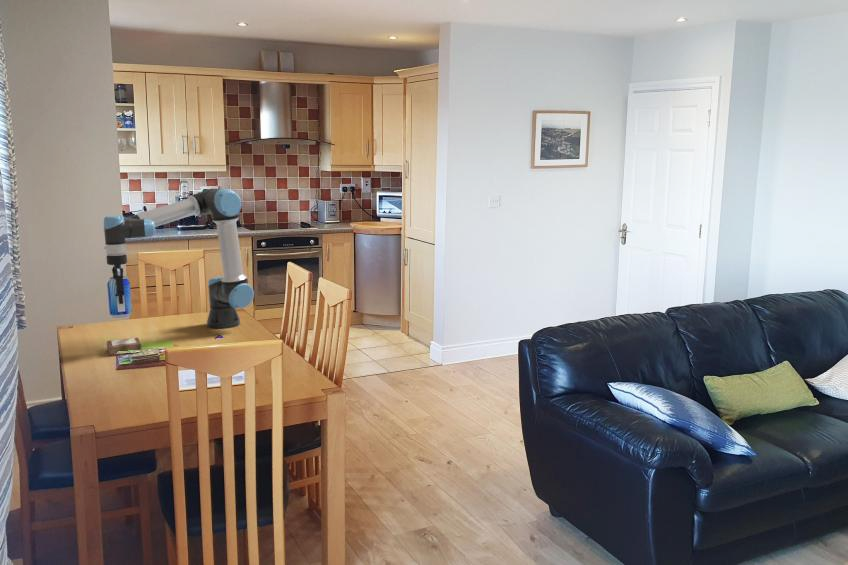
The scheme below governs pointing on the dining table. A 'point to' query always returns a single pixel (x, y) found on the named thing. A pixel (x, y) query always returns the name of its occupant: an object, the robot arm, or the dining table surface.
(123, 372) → the dining table surface
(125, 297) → the beer can
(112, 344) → the base slab
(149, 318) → the dining table surface
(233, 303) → the robot arm
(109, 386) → the dining table surface
